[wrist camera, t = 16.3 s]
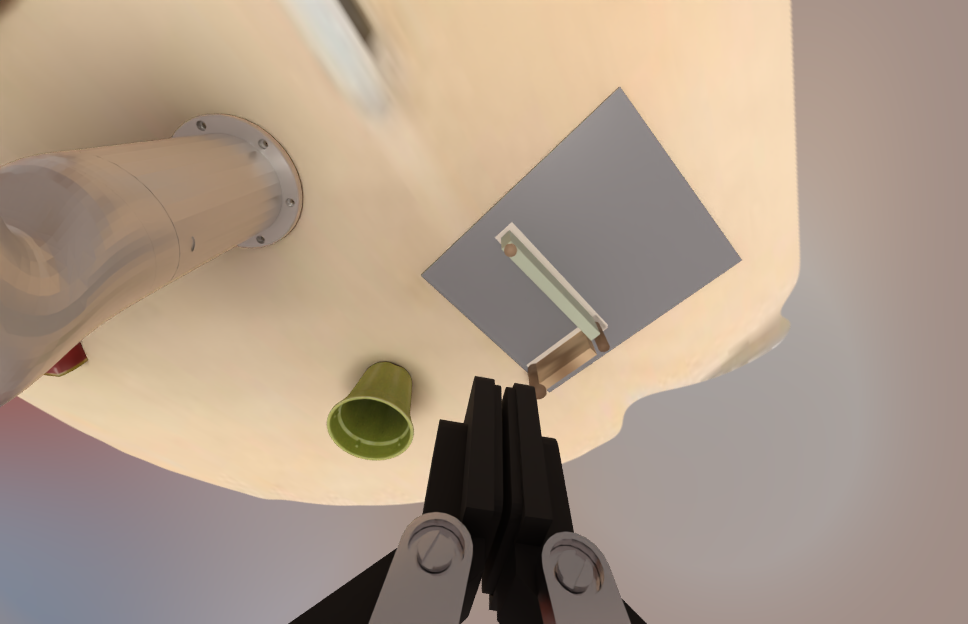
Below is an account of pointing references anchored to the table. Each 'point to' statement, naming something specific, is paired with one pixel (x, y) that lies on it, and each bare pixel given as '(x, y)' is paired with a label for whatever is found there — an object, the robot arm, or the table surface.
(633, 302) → the card
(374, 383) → the plant pot
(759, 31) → the table surface
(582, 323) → the bar
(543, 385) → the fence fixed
